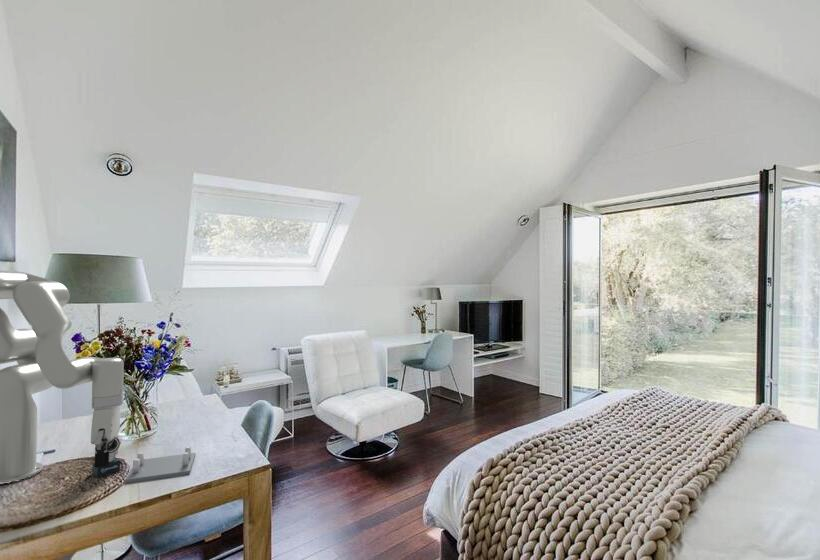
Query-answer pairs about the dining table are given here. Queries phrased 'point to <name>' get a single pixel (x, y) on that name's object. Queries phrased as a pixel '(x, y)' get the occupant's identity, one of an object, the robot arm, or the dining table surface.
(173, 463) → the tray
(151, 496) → the dining table surface
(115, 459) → the watch
